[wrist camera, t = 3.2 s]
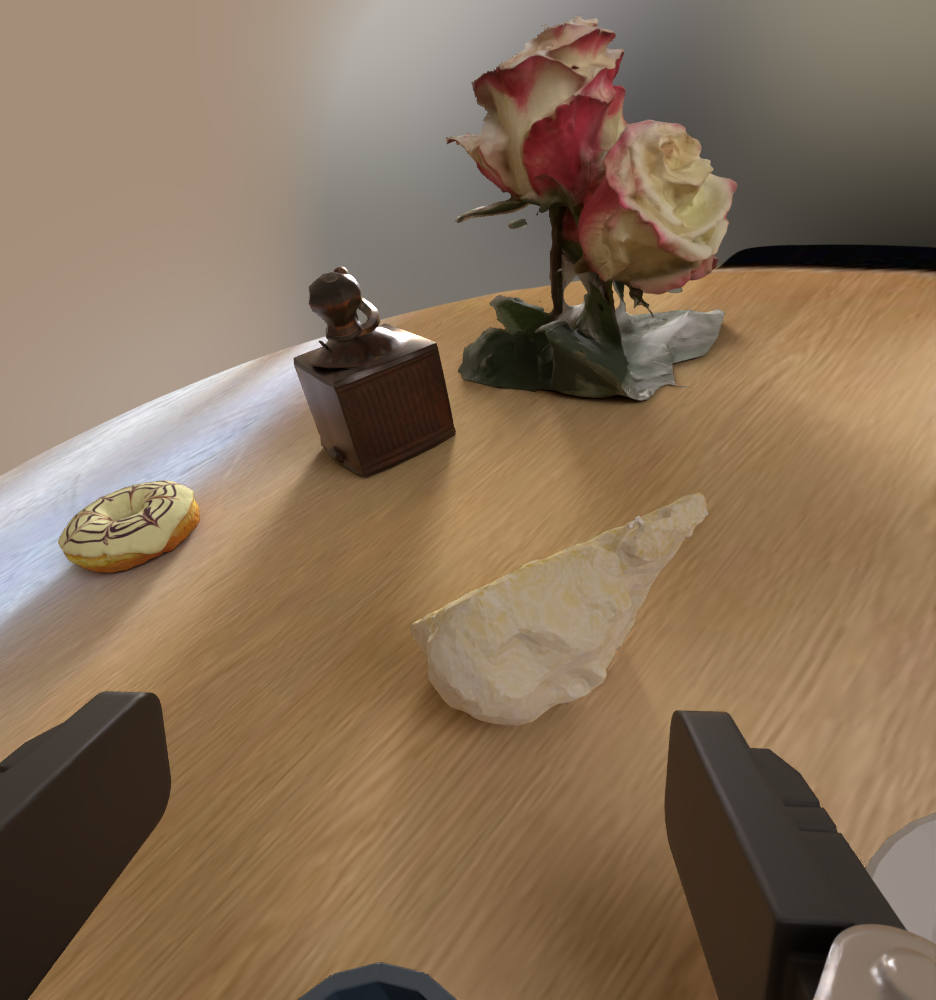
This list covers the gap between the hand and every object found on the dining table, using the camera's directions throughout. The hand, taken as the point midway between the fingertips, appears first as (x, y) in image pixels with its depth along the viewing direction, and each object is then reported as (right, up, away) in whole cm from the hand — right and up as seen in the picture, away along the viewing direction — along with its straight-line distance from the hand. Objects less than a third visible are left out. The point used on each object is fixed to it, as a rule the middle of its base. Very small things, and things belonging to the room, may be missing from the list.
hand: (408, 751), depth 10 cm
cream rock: (+7, -4, +26) cm, 27 cm away
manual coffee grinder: (-6, +9, +50) cm, 51 cm away
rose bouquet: (+16, +21, +61) cm, 66 cm away
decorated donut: (-27, 0, +45) cm, 52 cm away
